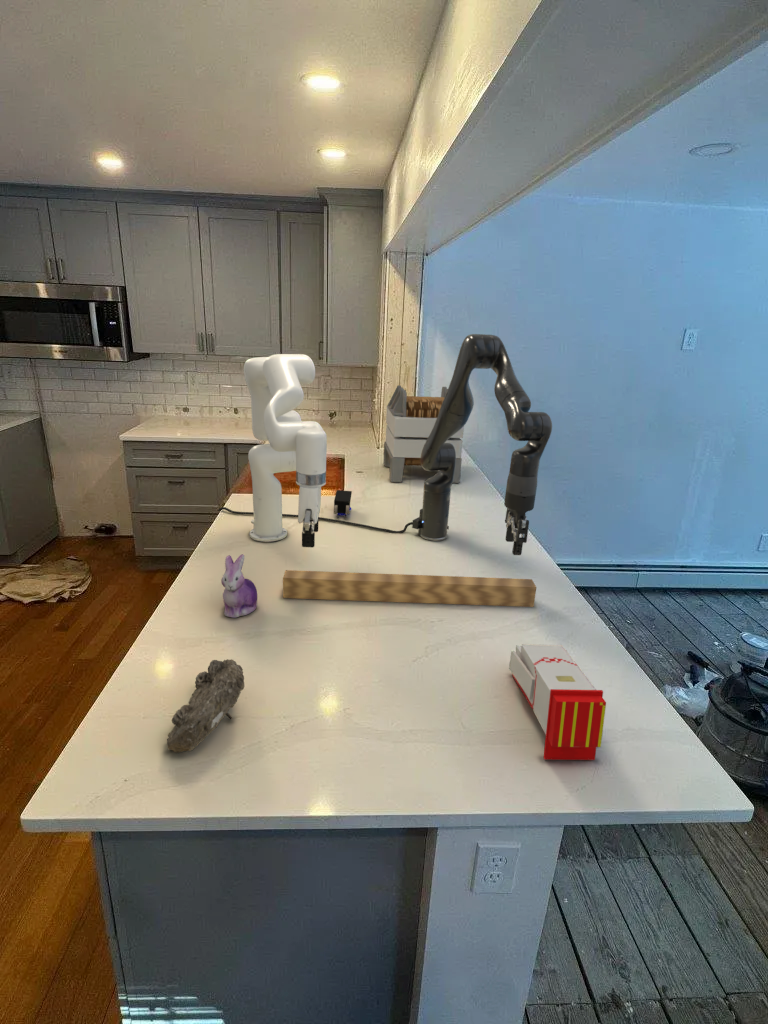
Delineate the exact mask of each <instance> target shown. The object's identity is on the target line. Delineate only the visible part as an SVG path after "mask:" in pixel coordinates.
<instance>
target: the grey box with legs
mask: <svg viewBox="0 0 768 1024" xmlns="http://www.w3.org/2000/svg"><path fill="white" fill-rule="evenodd" d="M447 390H448V388H447V386H442V387H441V392H440V393H441V394H440V396H415V395H414V396H413V395H412V396H411V395H407V394H408V393H407V390H406V389H404V388H403V387H402V385H399V384H398V385H397V386H396V388H395V390H394V392H393V394H392V395H391V398H390V400H389V402H388V404H387V405H386V413H385V414H386V415H385V423H386V428H385V438H384V442H383V466H384V467H388V468H389V475H388V476H389V477H388V478H389V480H390V482H391V483H402V482H403V475H404V469H405V466H406V467H407V466H411V467H412V466H413V467H415V466H416V467H417V466H418V467H422V466H421V452H422V449H423V447H424V444H425V442H426V441H427V439H428V437H429V435H430V433H431V431H432V429H433V427H434V424H435V422H436V419H437V417H438V414H439V411H440V408H441V405H442V403H443V400H444V398H445V395H446V393H447ZM464 429H465V425H464V426H463V427H462V428H461V429H460V430H459V431H458V432H457V433H455V434H454V435H453V436H452V437H450V438H449V439H448V440H447V441H446V442H445V443H451V444H452V445H453V446H454V448H455V452H456V462H455V469H454V476H453V483H452V484H455V483H456V484H459V483H461V472H462V461H463V460H462V453H463V442H464V441H463V440H462V439H463V438H464V431H465V430H464Z"/></svg>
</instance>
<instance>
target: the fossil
mask: <svg viewBox="0 0 768 1024" xmlns="http://www.w3.org/2000/svg"><path fill="white" fill-rule="evenodd" d="M243 670H244V669H243V667H242V665H240V664H237V662H236V661H235V660H234V659H232V658H231V659H227V658H226V659H224V660H223V661H222V660H217V659H212V660H211V661H210V663H209V665H208V666H207V671H201V672H199V673H198V674H197V675H196V676H195V680H194V684H195V685H194V687H195V689H194V690H193V693H192V694H191V697H190V698H189V700H188V704H184V705H182V706H181V707H180V709H177V710H176V711H175V713H174V715H173V716H172V718H171V723H172V724H173V727H172V730H171V731H170V732H168V734H167V738H166V741H167V742H166V745H167V749H168V750H169V751H173V752H174V753H176V754H178V753H182V752H188V751H189V752H192V751H193V750H195V748H196V747H197V746H199V744H200V743H201V742H203V741H204V740H205V739H206V738H207V737H208V736H209V735H210V734H211V733H212V732H214V730H215V729H217V727H218V726H219V724H220V722H221V721H222V720H223V719H224V718H225V716H226V717H227V719H229V720H233V717H232V715H230V714H229V710H230V709H231V708H234V706H235V704H236V703H237V702H238V699H239V697H240V695H241V693H242V691H243V690H245V689H244V688H245V675H244V671H243Z"/></svg>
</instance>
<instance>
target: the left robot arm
mask: <svg viewBox="0 0 768 1024" xmlns="http://www.w3.org/2000/svg"><path fill="white" fill-rule="evenodd" d="M243 377H244V381H245V383H246V386H247V389H248V392H249V394H250V395H249V396H250V406H251V407H250V408H251V410H250V411H251V429H252V434H253V436H254V438H255V439H256V440H258V441H266V442H267V441H268V443H262V444H256V445H254V446H252V447H251V448H250V449H249V451H248V453H247V454H248V455H247V458H248V464H249V468H250V475H251V485H252V486H251V487H252V510H253V511H252V512H253V514H254V515H253V519H251V520H250V523H251V524H253V528H252V529H251V530H250V531H249V538H250V539H252V540H253V541H257V542H262V543H263V542H265V543H270V542H271V543H272V542H277V541H281V540H283V539H285V538H286V537H287V536H288V530H287V529H286V528H285V527H283V516H282V514H283V489H282V483H281V482H280V480H279V479H278V478H277V477H276V476H275V475H274V474H278V473H291V472H295V484H296V485H297V486H299V491H298V510H297V515H298V517H297V523H298V524H302V531H301V547H302V548H315V546H316V544H315V541H316V539H315V538H316V537H315V536H316V533H318V532H319V521H320V520H319V518H318V517H320V512H321V503H322V487H324V486H326V484H327V453H328V451H327V449H328V444H327V443H328V436H327V433H326V431H325V430H324V428H323V426H321V424H320V423H319V422H317V421H315V420H302V418H301V415H300V413H299V412H298V411H296V410H295V409H296V408H298V407H300V405H301V404H302V403H303V401H304V397H305V395H304V394H305V393H304V390H303V387H302V386H308V385H311V384H313V382H314V381H315V378H316V367H315V364H314V361H313V360H312V358H311V357H310V356H309V355H308V354H302V353H275V354H271V355H269V356H257V357H251V358H249V359H247V360H246V361H245V362H244V365H243Z"/></svg>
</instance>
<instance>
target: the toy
mask: <svg viewBox="0 0 768 1024" xmlns="http://www.w3.org/2000/svg"><path fill="white" fill-rule="evenodd" d="M510 651H511V653H510V658H509V659H510V660H509V666H508V669H509V671H510V672H511V676H512V678H513V679H514V681H515V682H516V685H517V686H518V688H519V690H520V691H521V692H522V694H523V697H525V699H526V701H527V703H528V704H529V706H530V708H531V709H532V711H533V713H534V715H535V717H536V719H537V721H538V723H539V725H540V727H541V728H542V731H543V732H544V734H545V739H544V750H543V760H555V761H557V760H560V761H561V760H562V761H563V760H564V761H565V760H567V761H570V760H571V761H595V760H596V754H597V748H601V746H602V740H603V738H602V737H603V732H604V723H605V716H606V707H607V701H606V700H605V698H603V696H604V691H603V690H602V689H597V688H596V687H595V686H594V684H593V683H592V682H591V681H590V679H589V677H587V675H586V674H585V673H584V671H583V670H582V669H581V667H580V666H579V664H578V663H576V660H574V659H573V658H572V656H571V655H570V653H569V652H568V650H567V649H566V648H565V647H564V645H562V644H529V643H525V644H524V643H523V644H522V643H521V645H520V644H519V645H518V644H517V645H515V650H514V649H513V650H510Z"/></svg>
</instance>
